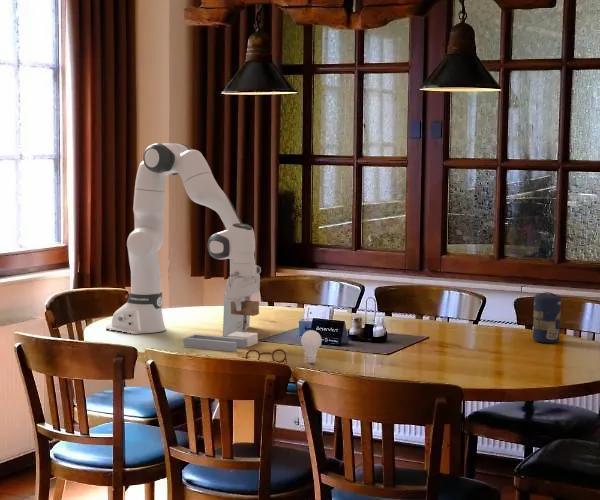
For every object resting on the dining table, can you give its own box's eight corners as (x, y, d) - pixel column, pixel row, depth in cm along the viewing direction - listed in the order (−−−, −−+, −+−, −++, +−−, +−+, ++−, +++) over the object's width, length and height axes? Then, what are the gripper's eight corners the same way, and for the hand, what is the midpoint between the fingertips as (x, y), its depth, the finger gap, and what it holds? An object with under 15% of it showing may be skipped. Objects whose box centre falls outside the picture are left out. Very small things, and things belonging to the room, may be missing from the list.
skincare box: (236, 337, 374) (236, 294, 372) (222, 336, 375) (222, 293, 374) (251, 326, 395) (251, 285, 393) (237, 326, 396) (237, 285, 394)
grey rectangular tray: (183, 346, 357) (183, 338, 357) (194, 342, 364) (194, 334, 364) (235, 351, 349) (235, 343, 349) (245, 347, 357) (245, 338, 356)
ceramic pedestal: (227, 345, 360) (227, 335, 360) (237, 341, 367) (237, 331, 367) (247, 347, 357) (247, 337, 357) (257, 342, 364) (257, 333, 364)
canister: (537, 338, 377) (539, 289, 375) (563, 340, 372) (564, 291, 370) (529, 342, 369) (530, 292, 367) (555, 345, 364) (556, 295, 362)
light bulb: (296, 363, 332) (296, 330, 330) (311, 360, 336) (311, 327, 335) (311, 367, 327) (311, 333, 326) (325, 364, 332) (326, 330, 330)
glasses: (286, 363, 334) (286, 348, 333) (288, 373, 321) (289, 357, 320) (245, 364, 333) (245, 348, 332) (246, 373, 320) (246, 357, 319)
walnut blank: (230, 314, 361) (230, 301, 360) (235, 312, 364) (235, 299, 364) (254, 315, 357) (254, 303, 357) (258, 314, 361) (258, 301, 360)
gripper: (237, 274, 348) (237, 314, 350) (262, 267, 367) (263, 305, 369) (220, 273, 351) (221, 313, 352) (247, 266, 370) (247, 304, 371)
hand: (242, 309), depth 361 cm, fingers closed on walnut blank, 4 cm apart
